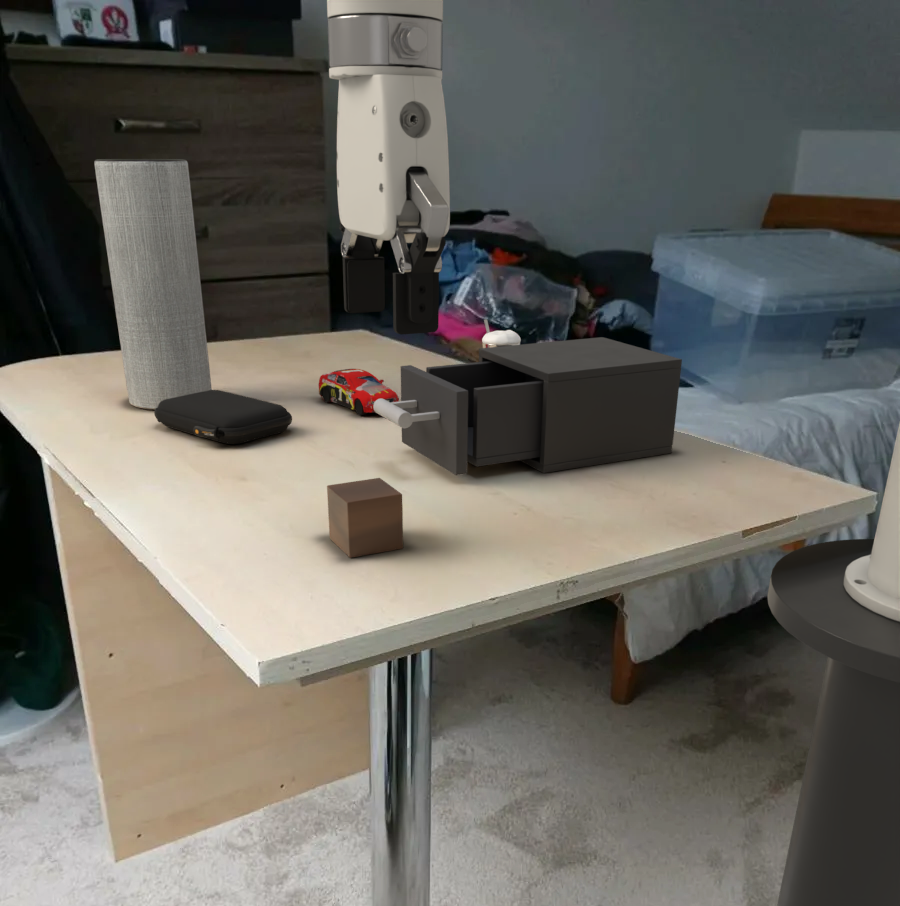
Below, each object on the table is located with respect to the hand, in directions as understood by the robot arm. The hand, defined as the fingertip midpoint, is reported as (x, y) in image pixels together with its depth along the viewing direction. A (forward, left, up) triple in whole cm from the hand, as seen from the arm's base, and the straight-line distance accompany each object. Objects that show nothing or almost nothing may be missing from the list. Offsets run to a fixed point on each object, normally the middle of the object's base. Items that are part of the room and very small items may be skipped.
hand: (389, 321), depth 69 cm
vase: (+53, +7, -17) cm, 56 cm away
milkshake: (+33, -28, -17) cm, 46 cm away
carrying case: (+37, +5, -17) cm, 41 cm away
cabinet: (+15, -27, -17) cm, 35 cm away
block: (-1, +3, -17) cm, 17 cm away
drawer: (+15, -15, -16) cm, 27 cm away
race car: (+41, -13, -17) cm, 46 cm away
